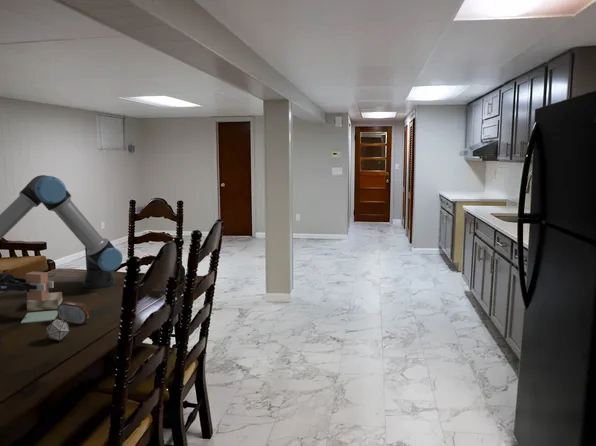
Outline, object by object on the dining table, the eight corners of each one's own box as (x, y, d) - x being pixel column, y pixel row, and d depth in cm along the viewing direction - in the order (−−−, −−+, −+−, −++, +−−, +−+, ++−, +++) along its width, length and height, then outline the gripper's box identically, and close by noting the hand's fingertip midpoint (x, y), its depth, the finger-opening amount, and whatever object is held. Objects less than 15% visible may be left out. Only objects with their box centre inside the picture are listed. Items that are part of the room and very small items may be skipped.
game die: (65, 348, 174) (81, 327, 174) (45, 349, 167) (61, 326, 166) (54, 332, 178) (69, 311, 178) (34, 331, 171) (50, 310, 170)
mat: (59, 311, 204) (59, 310, 204) (54, 320, 193) (54, 319, 193) (27, 313, 200) (27, 312, 200) (20, 323, 189) (20, 322, 189)
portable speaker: (92, 323, 190) (91, 303, 188) (86, 326, 187) (85, 306, 185) (62, 319, 194) (61, 299, 193) (56, 321, 192) (55, 301, 190)
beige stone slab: (62, 300, 219) (61, 291, 218) (58, 308, 208) (57, 299, 207) (33, 302, 215) (32, 294, 215) (27, 310, 204) (26, 301, 203)
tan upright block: (27, 299, 194) (25, 273, 192) (34, 297, 198) (32, 271, 196) (41, 301, 193) (40, 274, 191) (49, 298, 196) (47, 272, 195)
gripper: (16, 285, 207) (63, 289, 202) (-17, 296, 190) (33, 301, 185) (15, 268, 206) (62, 272, 201) (-19, 278, 189) (32, 282, 184)
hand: (48, 286), depth 193 cm, fingers closed on tan upright block, 4 cm apart
